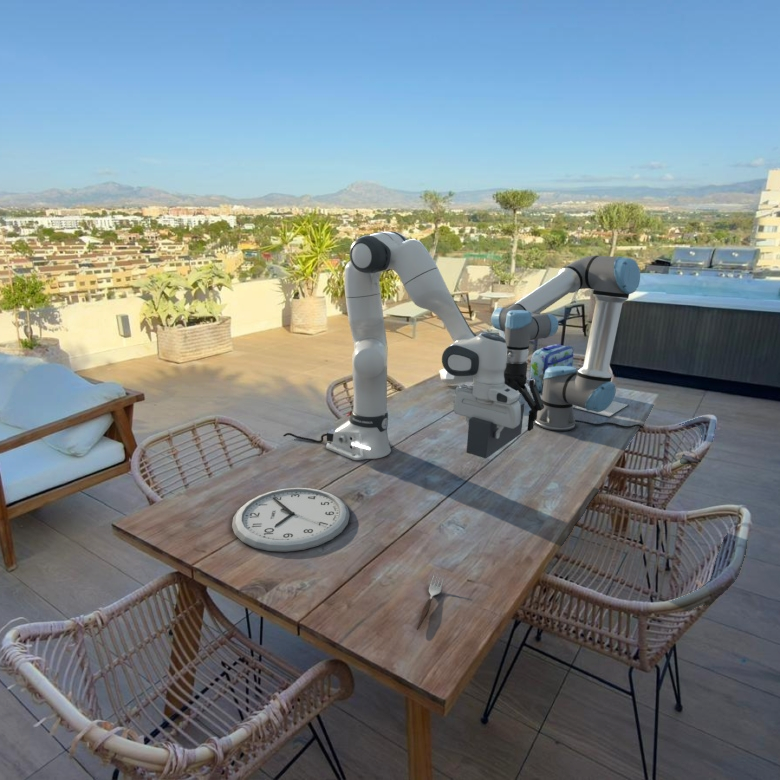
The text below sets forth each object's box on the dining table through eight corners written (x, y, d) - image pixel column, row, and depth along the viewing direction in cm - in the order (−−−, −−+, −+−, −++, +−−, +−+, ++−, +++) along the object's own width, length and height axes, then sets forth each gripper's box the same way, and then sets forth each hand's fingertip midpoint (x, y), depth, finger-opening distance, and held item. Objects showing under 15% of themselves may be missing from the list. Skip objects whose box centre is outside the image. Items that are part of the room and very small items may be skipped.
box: (502, 428, 174) (506, 398, 171) (521, 433, 170) (524, 403, 167) (466, 452, 155) (469, 419, 152) (486, 458, 151) (489, 424, 148)
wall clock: (350, 543, 123) (219, 547, 120) (350, 549, 123) (220, 553, 121) (349, 483, 151) (243, 486, 149) (349, 488, 152) (243, 491, 149)
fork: (410, 630, 99) (410, 621, 98) (433, 579, 113) (433, 571, 113) (423, 633, 98) (424, 625, 97) (444, 582, 112) (445, 574, 112)
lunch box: (545, 397, 238) (550, 352, 231) (524, 391, 245) (529, 348, 239) (572, 386, 255) (578, 344, 249) (552, 381, 262) (557, 340, 256)
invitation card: (608, 416, 214) (573, 407, 224) (608, 416, 214) (573, 408, 224) (628, 404, 229) (594, 396, 238) (628, 405, 229) (594, 397, 238)
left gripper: (451, 384, 154) (448, 428, 158) (516, 399, 142) (511, 446, 146) (461, 380, 158) (458, 423, 163) (525, 394, 147) (520, 440, 151)
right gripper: (473, 357, 166) (470, 419, 173) (550, 370, 152) (543, 437, 158) (484, 352, 172) (480, 413, 178) (559, 364, 158) (552, 430, 164)
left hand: (484, 434), depth 154 cm, fingers closed on box, 6 cm apart
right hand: (510, 424), depth 168 cm, fingers open, 13 cm apart
